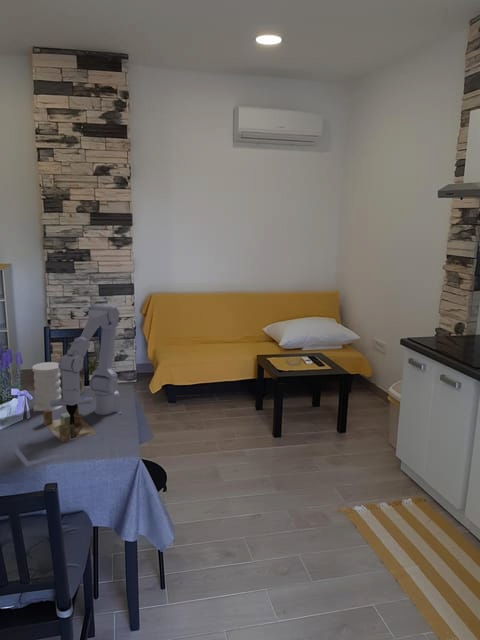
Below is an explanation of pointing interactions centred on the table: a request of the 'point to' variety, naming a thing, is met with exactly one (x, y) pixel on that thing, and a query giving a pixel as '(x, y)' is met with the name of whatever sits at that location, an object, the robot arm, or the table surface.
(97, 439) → the table surface
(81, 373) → the coffee box
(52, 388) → the decorative container
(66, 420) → the lock block
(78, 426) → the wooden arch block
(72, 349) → the robot arm
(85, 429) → the stool board
